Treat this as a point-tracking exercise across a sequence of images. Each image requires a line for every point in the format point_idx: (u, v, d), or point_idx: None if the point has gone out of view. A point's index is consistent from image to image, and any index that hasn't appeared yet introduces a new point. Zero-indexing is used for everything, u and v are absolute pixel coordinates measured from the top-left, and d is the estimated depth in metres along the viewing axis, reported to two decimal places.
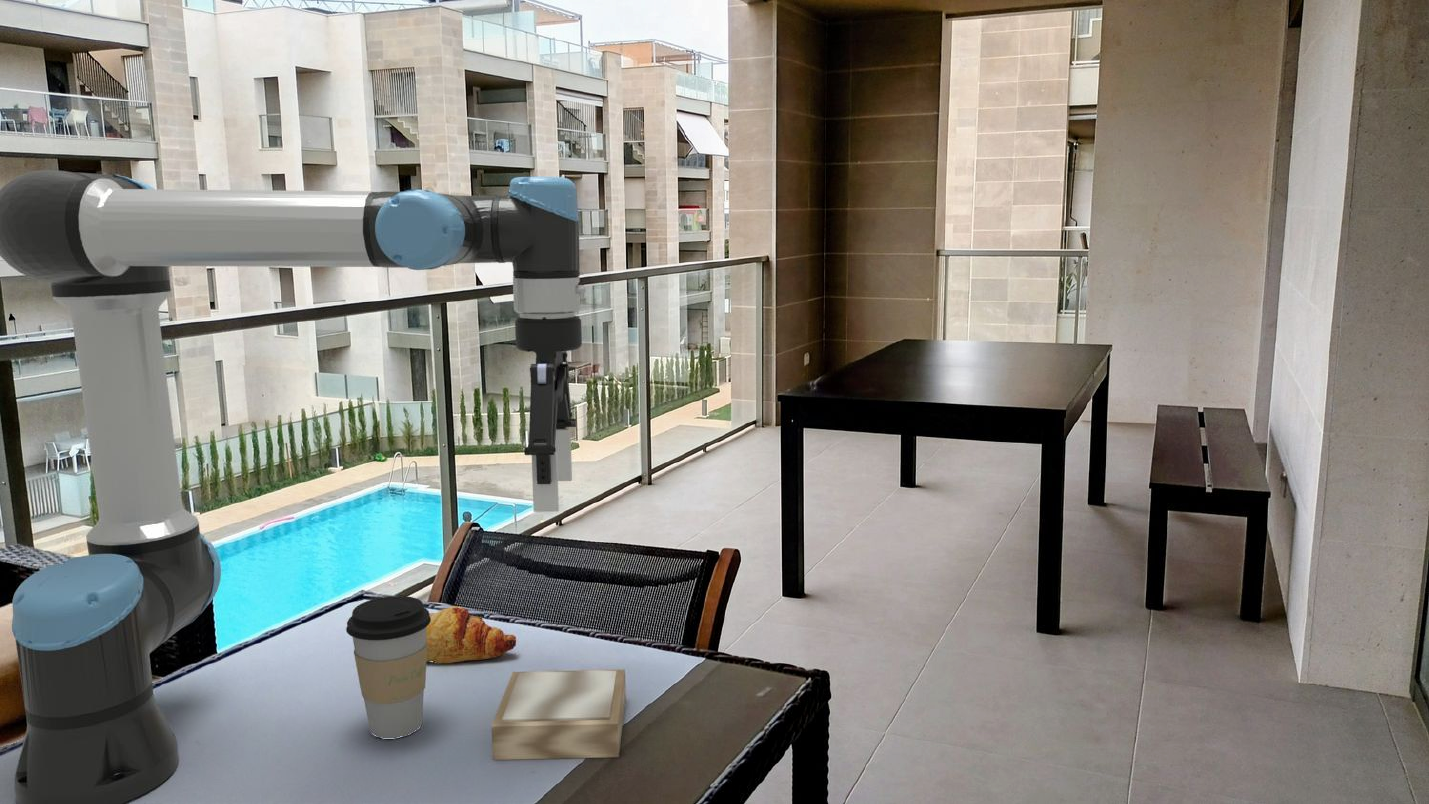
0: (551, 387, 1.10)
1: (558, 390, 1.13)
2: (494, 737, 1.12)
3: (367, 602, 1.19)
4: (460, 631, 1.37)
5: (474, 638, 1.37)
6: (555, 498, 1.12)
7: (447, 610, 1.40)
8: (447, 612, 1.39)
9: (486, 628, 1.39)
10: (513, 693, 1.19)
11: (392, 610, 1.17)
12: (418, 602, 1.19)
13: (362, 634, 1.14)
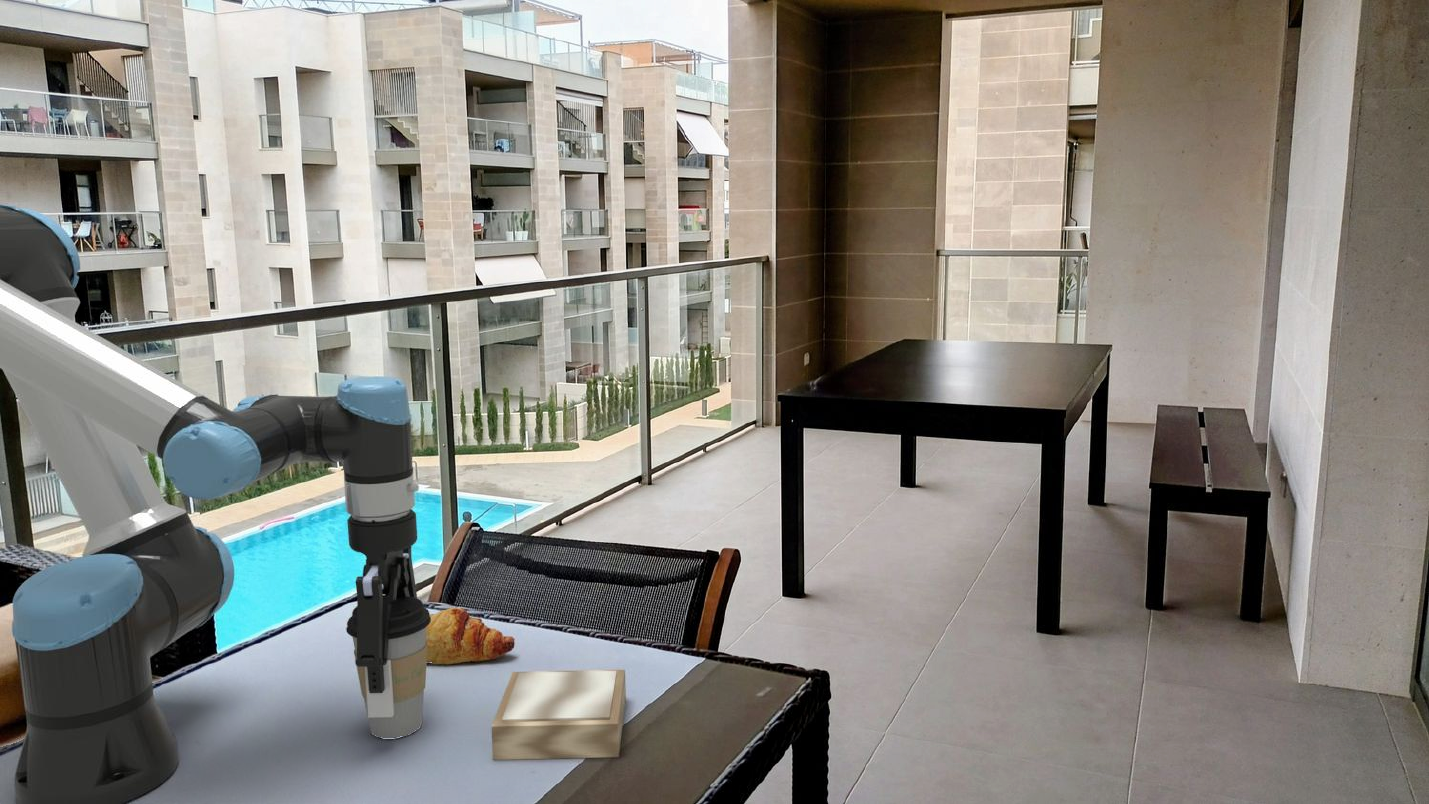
0: (378, 600, 1.10)
1: (390, 593, 1.14)
2: (494, 737, 1.12)
3: None
4: (458, 632, 1.37)
5: (472, 640, 1.37)
6: (389, 704, 1.14)
7: (446, 611, 1.40)
8: (446, 613, 1.39)
9: (485, 630, 1.39)
10: (513, 693, 1.19)
11: (392, 610, 1.17)
12: (418, 602, 1.19)
13: None
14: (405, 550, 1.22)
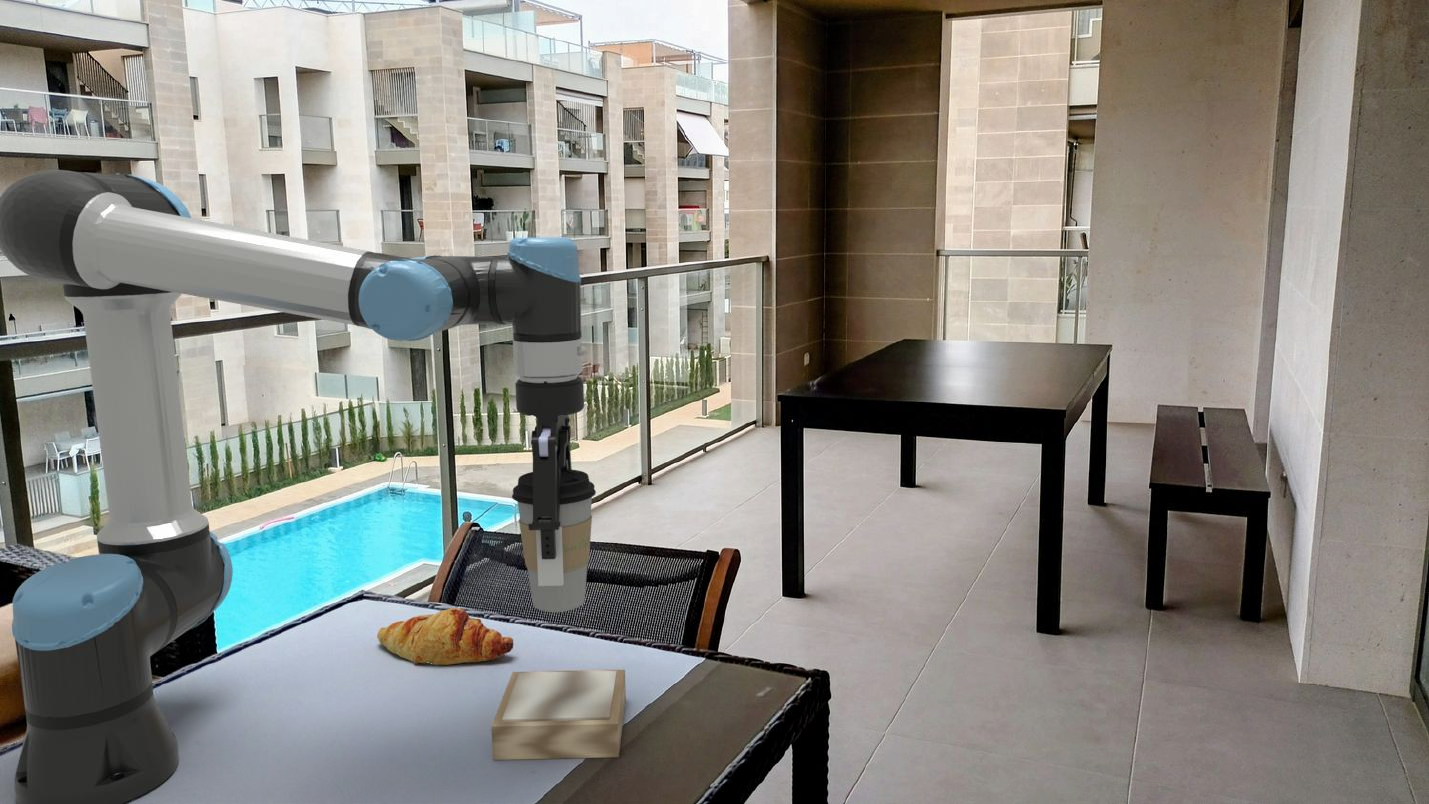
0: (553, 461, 1.07)
1: (561, 458, 1.11)
2: (494, 737, 1.12)
3: (529, 473, 1.16)
4: (457, 633, 1.37)
5: (470, 640, 1.37)
6: (560, 572, 1.11)
7: (445, 611, 1.40)
8: (445, 614, 1.39)
9: (484, 630, 1.39)
10: (513, 693, 1.19)
11: None
12: (582, 473, 1.16)
13: None
14: (564, 423, 1.19)
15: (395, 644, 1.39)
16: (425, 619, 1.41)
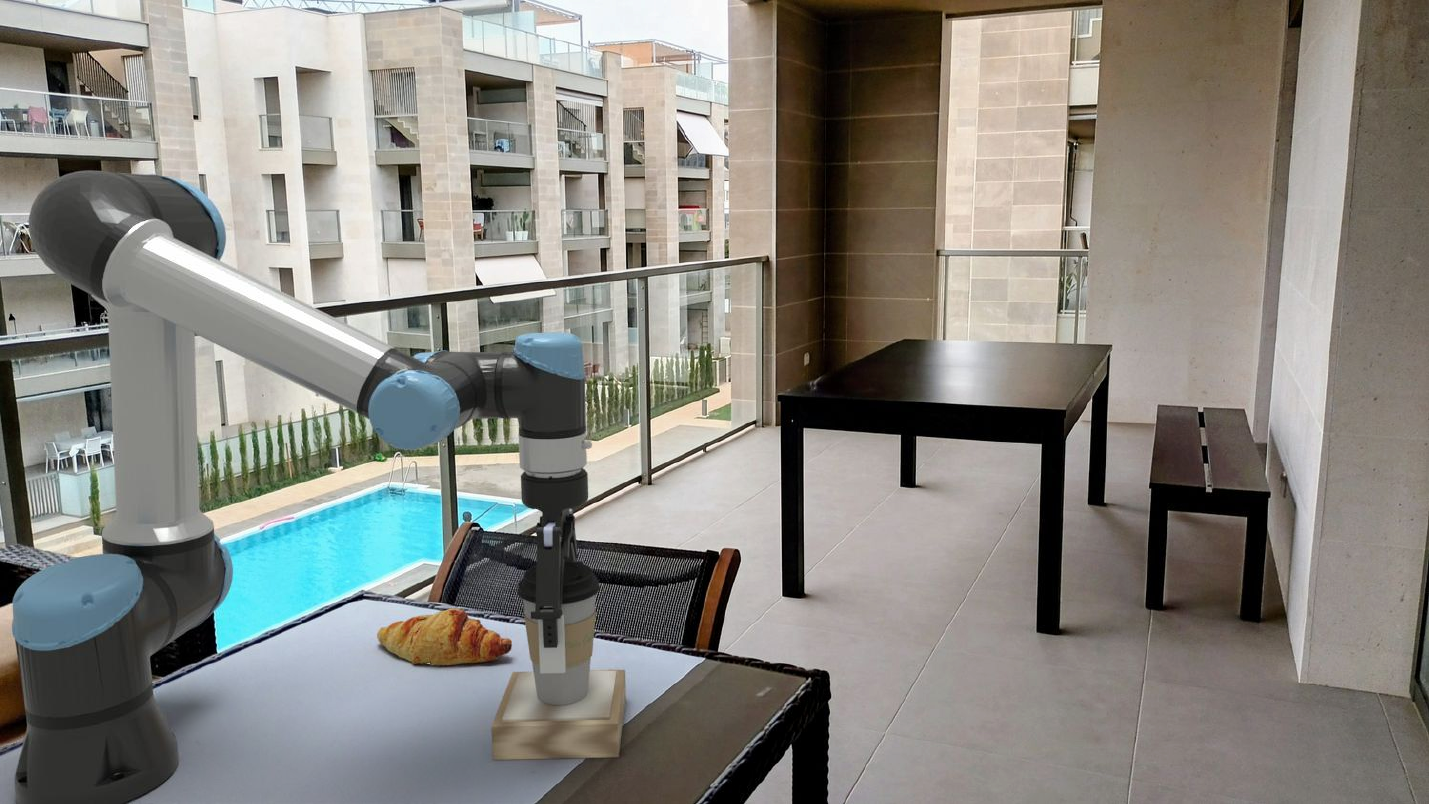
0: (558, 551, 1.09)
1: (564, 548, 1.12)
2: (494, 737, 1.12)
3: (534, 567, 1.18)
4: (455, 633, 1.37)
5: (469, 641, 1.36)
6: (562, 660, 1.11)
7: (444, 612, 1.39)
8: (444, 614, 1.39)
9: (482, 631, 1.39)
10: (513, 693, 1.19)
11: (563, 575, 1.16)
12: (586, 567, 1.18)
13: None
14: None
15: (394, 644, 1.39)
16: (424, 619, 1.40)
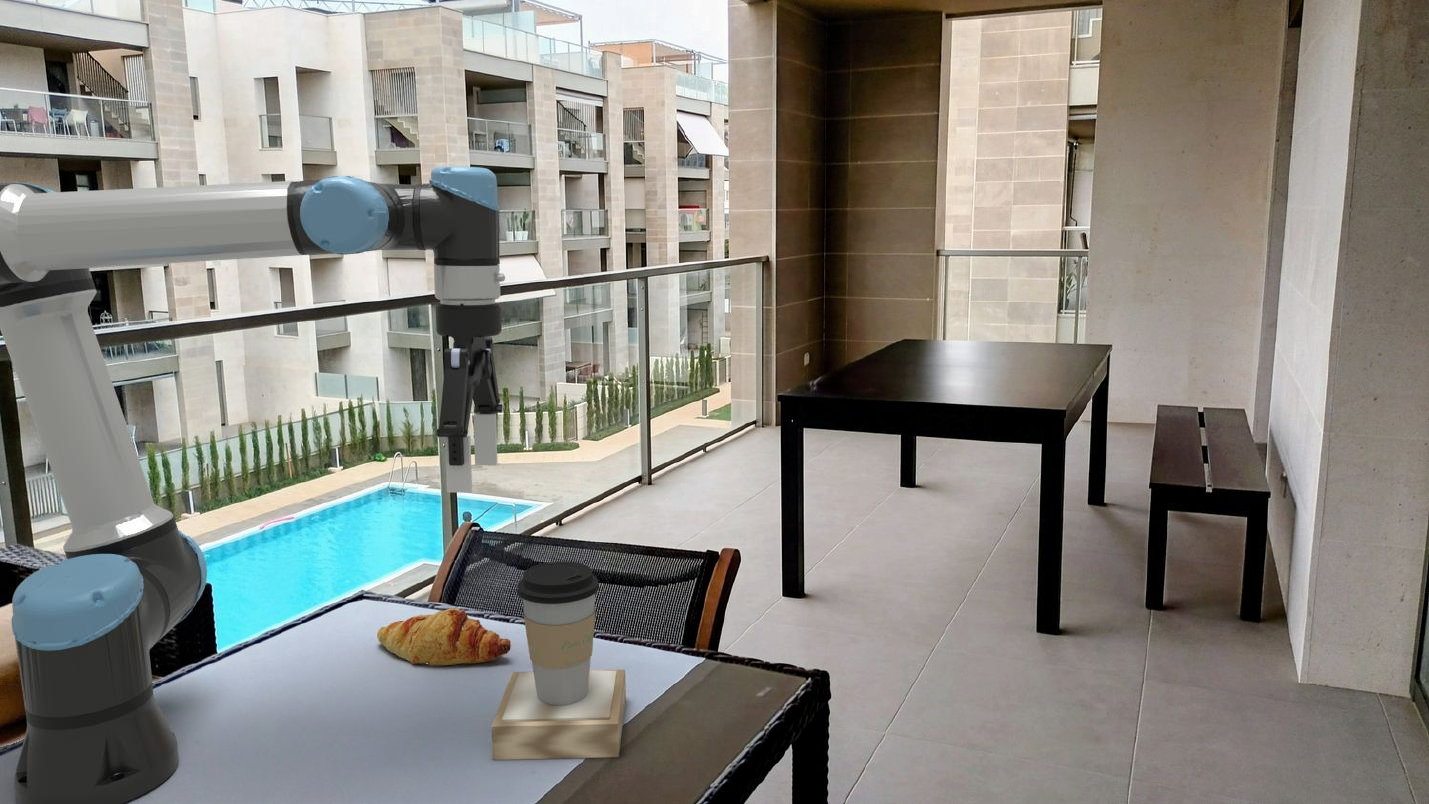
0: (464, 371, 1.13)
1: (474, 375, 1.17)
2: (494, 737, 1.12)
3: (534, 567, 1.18)
4: (454, 634, 1.36)
5: (467, 641, 1.36)
6: (468, 480, 1.15)
7: (443, 612, 1.39)
8: (443, 614, 1.38)
9: (481, 631, 1.38)
10: (513, 693, 1.19)
11: (562, 574, 1.16)
12: (586, 567, 1.18)
13: (537, 598, 1.12)
14: (487, 345, 1.25)
15: (393, 644, 1.39)
16: (424, 619, 1.40)
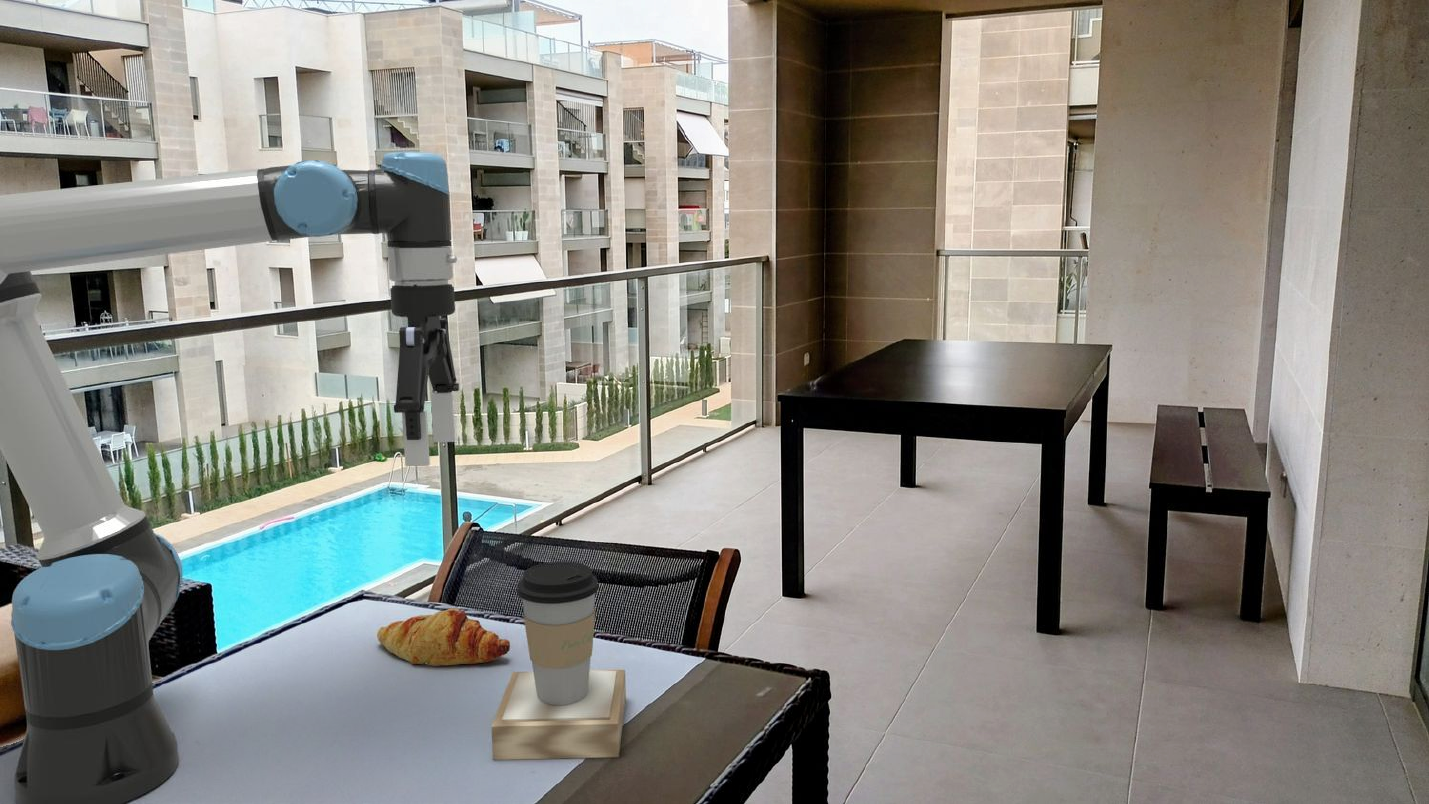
0: (419, 349, 1.17)
1: (429, 353, 1.21)
2: (494, 737, 1.12)
3: (534, 567, 1.18)
4: (453, 634, 1.36)
5: (467, 642, 1.36)
6: (425, 453, 1.20)
7: (443, 612, 1.39)
8: (443, 615, 1.38)
9: (481, 632, 1.38)
10: (513, 693, 1.19)
11: (562, 574, 1.16)
12: (585, 567, 1.18)
13: (537, 598, 1.12)
14: (442, 326, 1.30)
15: (393, 644, 1.39)
16: (423, 619, 1.40)
